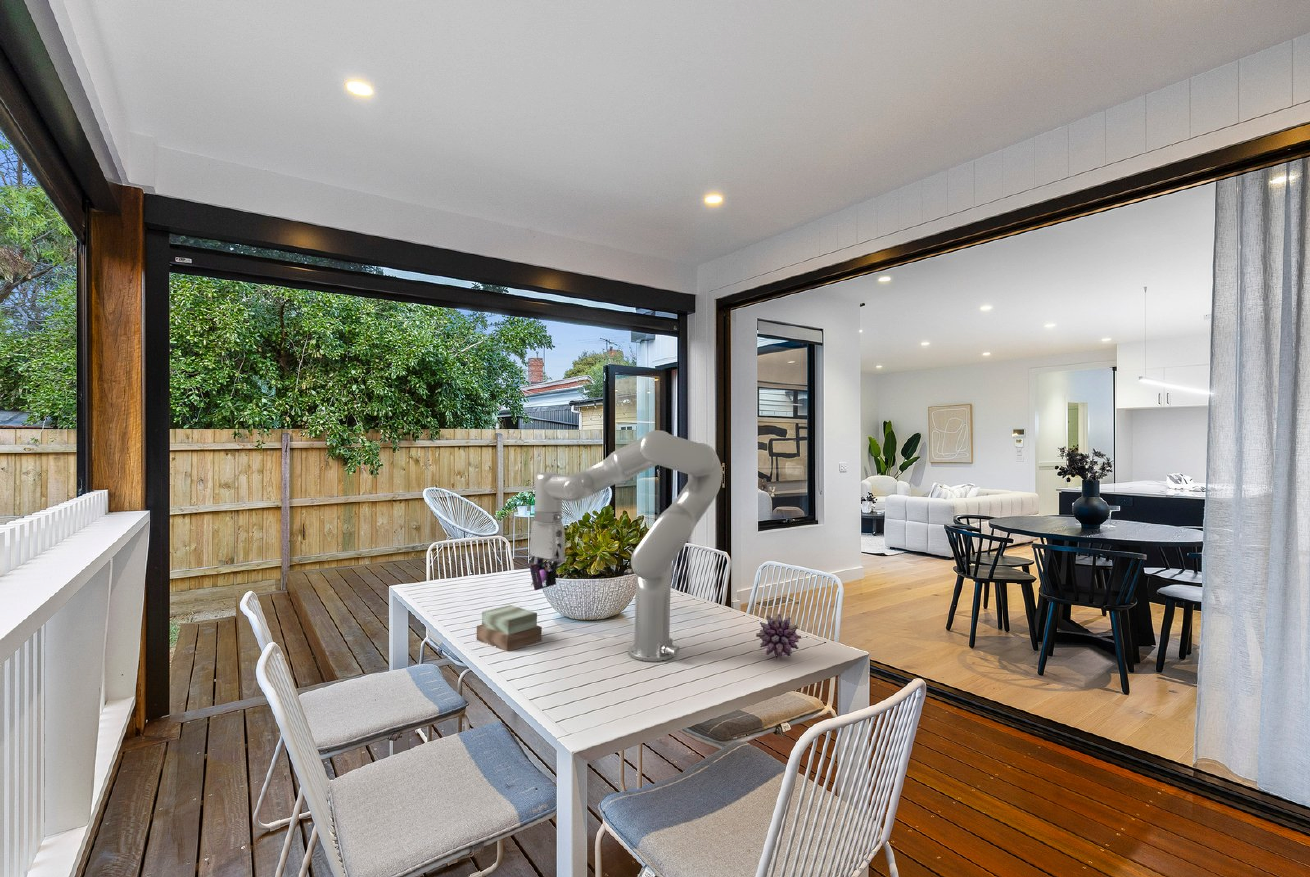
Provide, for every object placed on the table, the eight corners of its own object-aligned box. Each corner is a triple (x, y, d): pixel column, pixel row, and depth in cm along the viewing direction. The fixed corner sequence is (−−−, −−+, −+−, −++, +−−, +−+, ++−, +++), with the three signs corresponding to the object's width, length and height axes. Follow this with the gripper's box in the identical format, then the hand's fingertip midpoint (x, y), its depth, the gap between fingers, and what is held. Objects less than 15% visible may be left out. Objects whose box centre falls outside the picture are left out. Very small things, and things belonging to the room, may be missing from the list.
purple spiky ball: (786, 669, 162) (787, 623, 162) (747, 657, 170) (748, 613, 170) (808, 658, 171) (809, 614, 171) (770, 647, 179) (771, 605, 179)
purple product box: (532, 564, 169) (553, 559, 177) (517, 568, 172) (539, 563, 180) (537, 589, 168) (558, 583, 176) (523, 593, 171) (544, 587, 179)
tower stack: (541, 640, 181) (542, 612, 181) (507, 651, 171) (507, 621, 171) (510, 630, 189) (511, 603, 189) (476, 639, 180) (477, 611, 180)
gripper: (578, 519, 173) (575, 586, 173) (538, 512, 184) (535, 576, 184) (558, 522, 167) (555, 591, 167) (517, 514, 178) (514, 579, 178)
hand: (544, 582), depth 176 cm, fingers closed on purple product box, 3 cm apart
